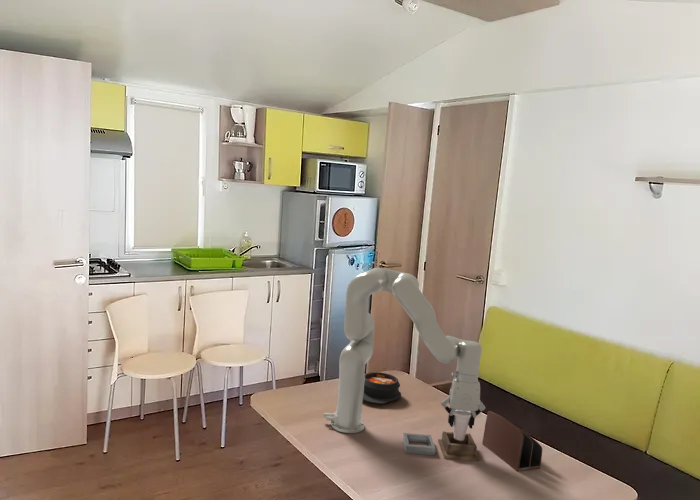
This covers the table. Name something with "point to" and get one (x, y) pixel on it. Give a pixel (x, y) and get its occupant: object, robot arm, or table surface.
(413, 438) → the holder
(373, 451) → the table surface
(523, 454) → the letter holder
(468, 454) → the socket
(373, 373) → the casserole
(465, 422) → the smoothie
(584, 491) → the table surface
